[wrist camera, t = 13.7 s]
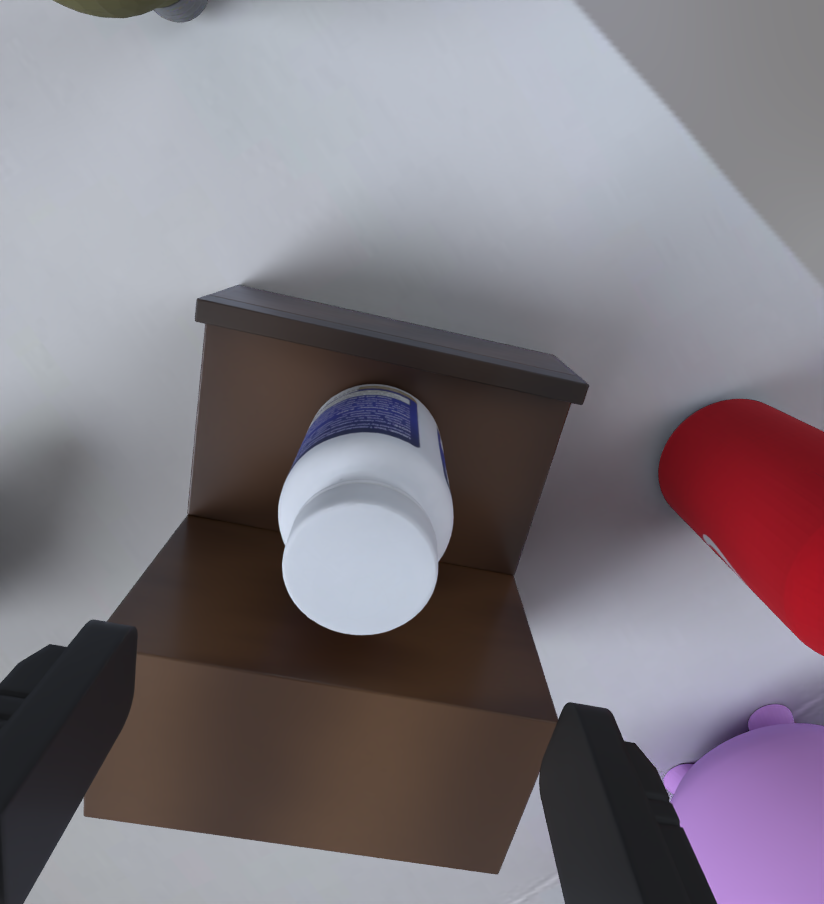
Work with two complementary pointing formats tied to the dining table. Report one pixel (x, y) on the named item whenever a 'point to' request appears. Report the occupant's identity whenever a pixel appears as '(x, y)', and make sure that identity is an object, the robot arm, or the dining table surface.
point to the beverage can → (756, 503)
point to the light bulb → (138, 8)
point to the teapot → (758, 811)
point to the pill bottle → (366, 512)
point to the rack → (329, 652)
